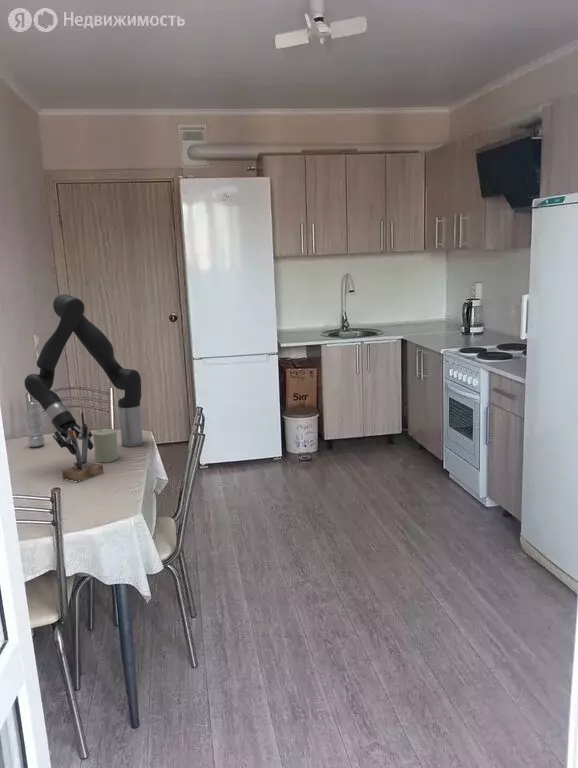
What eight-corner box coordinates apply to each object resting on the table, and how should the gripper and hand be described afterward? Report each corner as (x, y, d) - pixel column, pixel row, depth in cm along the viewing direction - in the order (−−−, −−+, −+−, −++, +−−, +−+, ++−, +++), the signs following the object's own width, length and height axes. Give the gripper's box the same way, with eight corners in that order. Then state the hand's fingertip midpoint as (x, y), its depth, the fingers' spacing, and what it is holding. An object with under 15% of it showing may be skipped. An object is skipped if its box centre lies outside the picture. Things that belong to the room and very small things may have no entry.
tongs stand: (89, 469, 240) (88, 457, 239) (103, 472, 236) (102, 460, 235) (63, 478, 231) (61, 465, 230) (77, 482, 226) (75, 469, 225)
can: (107, 454, 259) (105, 426, 257) (123, 457, 254) (121, 429, 252) (90, 460, 251) (87, 432, 249) (106, 464, 247) (103, 434, 244)
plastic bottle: (25, 448, 271) (20, 403, 268) (36, 443, 278) (31, 399, 274) (38, 449, 270) (33, 403, 266) (48, 444, 276) (43, 400, 272)
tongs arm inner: (82, 465, 234) (84, 426, 234) (87, 466, 233) (89, 426, 232) (80, 465, 234) (82, 426, 233) (85, 467, 232) (87, 427, 231)
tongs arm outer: (79, 466, 233) (69, 429, 228) (84, 467, 232) (74, 430, 227) (77, 467, 232) (67, 430, 227) (82, 468, 231) (72, 431, 226)
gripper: (47, 414, 227) (71, 450, 223) (80, 406, 239) (103, 440, 234) (40, 427, 231) (63, 462, 227) (72, 418, 242) (95, 451, 238)
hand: (83, 450), depth 231 cm, fingers open, 7 cm apart
